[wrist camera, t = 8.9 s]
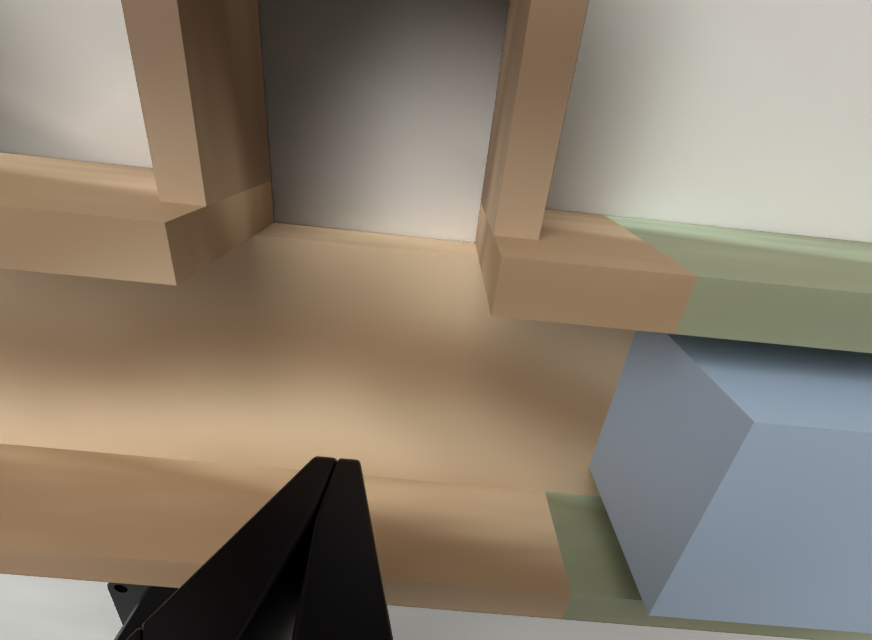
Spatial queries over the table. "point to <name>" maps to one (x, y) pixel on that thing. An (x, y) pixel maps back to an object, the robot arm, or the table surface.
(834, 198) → the table surface
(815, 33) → the table surface
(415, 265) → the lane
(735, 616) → the block
